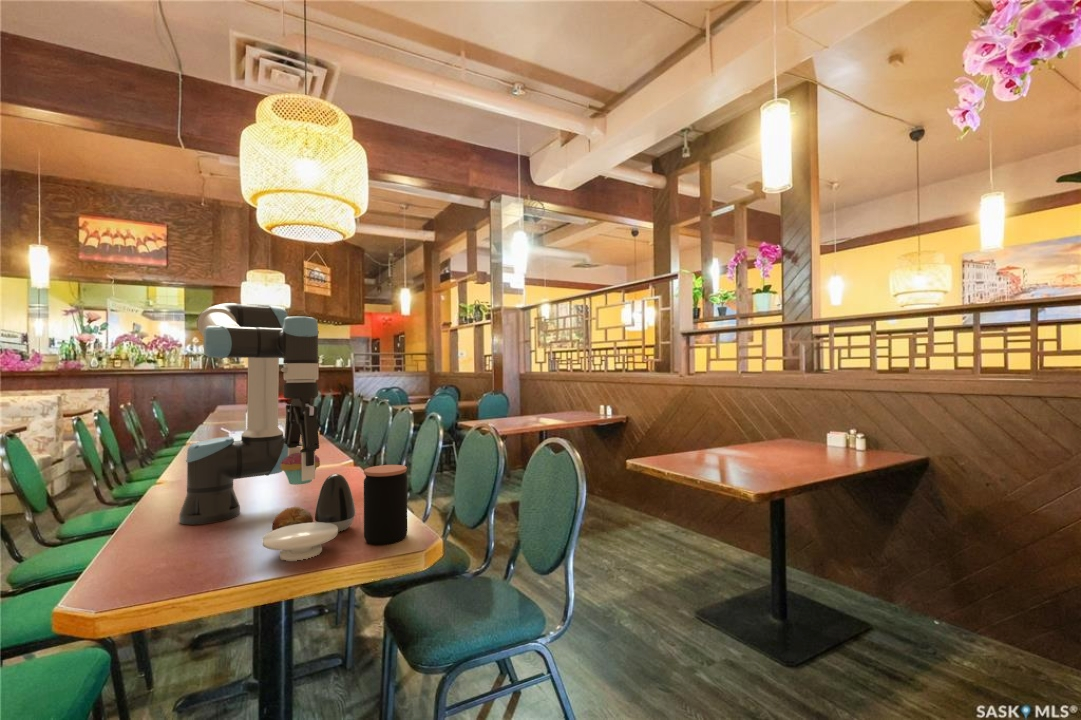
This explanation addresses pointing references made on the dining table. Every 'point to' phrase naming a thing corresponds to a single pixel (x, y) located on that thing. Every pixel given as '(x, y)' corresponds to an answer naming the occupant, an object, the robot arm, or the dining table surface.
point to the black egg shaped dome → (335, 503)
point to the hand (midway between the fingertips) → (301, 476)
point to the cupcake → (296, 468)
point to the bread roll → (292, 517)
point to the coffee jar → (385, 504)
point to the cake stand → (300, 540)
